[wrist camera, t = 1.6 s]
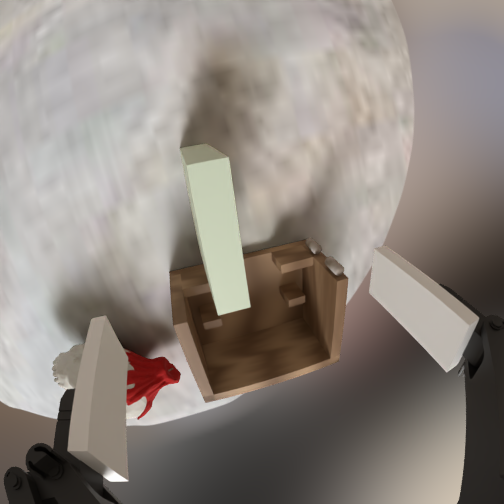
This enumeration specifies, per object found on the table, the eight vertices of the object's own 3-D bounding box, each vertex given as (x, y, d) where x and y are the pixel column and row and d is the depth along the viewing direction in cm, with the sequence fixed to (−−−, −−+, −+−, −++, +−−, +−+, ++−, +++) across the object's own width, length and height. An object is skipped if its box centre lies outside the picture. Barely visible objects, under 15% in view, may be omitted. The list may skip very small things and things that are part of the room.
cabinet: (194, 348, 36) (205, 402, 28) (166, 262, 30) (169, 314, 22) (308, 317, 39) (338, 361, 31) (306, 229, 33) (349, 267, 25)
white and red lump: (54, 338, 29) (157, 309, 33) (91, 392, 34) (181, 368, 39) (45, 390, 22) (169, 360, 26) (93, 440, 27) (197, 416, 31)
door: (222, 246, 31) (250, 307, 21) (200, 251, 30) (218, 315, 21) (205, 143, 26) (228, 157, 16) (179, 148, 25) (186, 165, 16)
